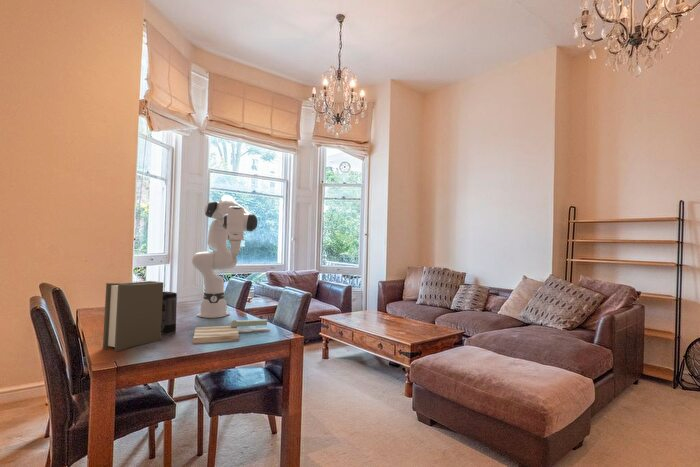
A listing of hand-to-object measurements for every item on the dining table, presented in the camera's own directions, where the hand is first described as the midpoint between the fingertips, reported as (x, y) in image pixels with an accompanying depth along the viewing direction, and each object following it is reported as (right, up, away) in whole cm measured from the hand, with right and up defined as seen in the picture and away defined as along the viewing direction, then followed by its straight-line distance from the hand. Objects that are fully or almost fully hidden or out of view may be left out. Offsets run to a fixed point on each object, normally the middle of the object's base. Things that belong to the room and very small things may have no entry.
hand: (234, 262), depth 201 cm
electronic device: (-31, -35, -11) cm, 48 cm away
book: (-36, -34, -30) cm, 58 cm away
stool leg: (+8, -33, -3) cm, 34 cm away
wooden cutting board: (+4, -35, -12) cm, 37 cm away
